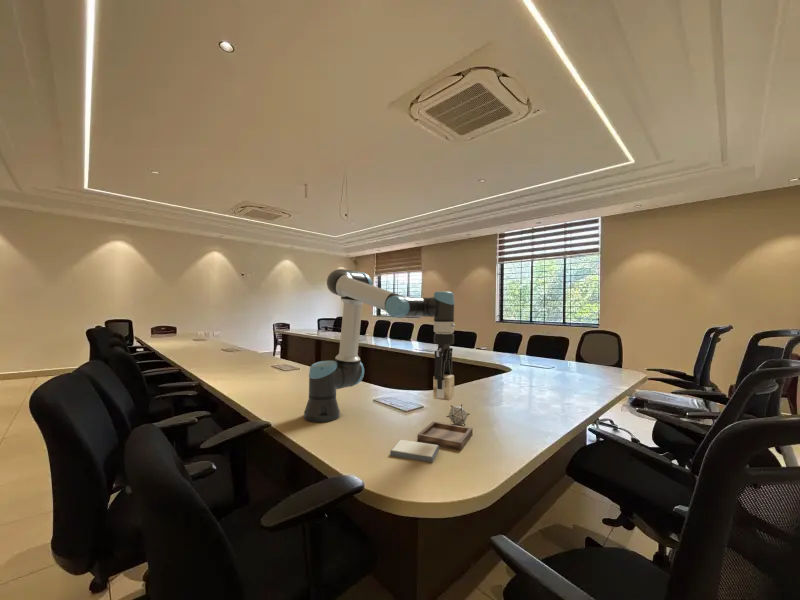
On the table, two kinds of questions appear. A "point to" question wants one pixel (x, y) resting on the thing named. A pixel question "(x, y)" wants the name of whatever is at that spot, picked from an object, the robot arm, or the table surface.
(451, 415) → the game die
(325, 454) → the table surface
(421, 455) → the white grey flat slab
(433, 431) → the walnut tray
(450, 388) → the beech block
